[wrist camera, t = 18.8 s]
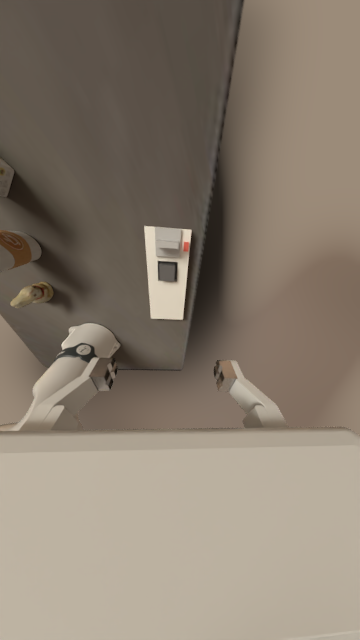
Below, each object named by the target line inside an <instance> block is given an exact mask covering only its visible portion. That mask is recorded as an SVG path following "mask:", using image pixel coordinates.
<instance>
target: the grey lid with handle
mask: <svg viewBox="0 0 360 640" xmlns="http://www.w3.org/2000/svg"><path fill="white" fill-rule="evenodd" d="M180 240H181V229H174V228H161V227H155V247H156V256H165V257H180Z"/></svg>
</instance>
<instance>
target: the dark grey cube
mask: <svg viewBox="0 0 360 640" xmlns="http://www.w3.org/2000/svg"><path fill="white" fill-rule="evenodd" d="M174 275H175V263H173V262H160V265H159V276H160V281H174Z"/></svg>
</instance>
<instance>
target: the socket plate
mask: <svg viewBox="0 0 360 640" xmlns="http://www.w3.org/2000/svg"><path fill="white" fill-rule="evenodd" d="M161 228H163V227H161ZM144 229H145V242H146V256H147V270H148V284H149V298H150V312H151V319H178V320H183V313H184V302H185V292H186V282H187V272H188V262H189V251H190V241H191V231H192V230H188V229H181V240H180V257H165V256H156V247H155V227H151V226H144ZM174 229H176V228H174ZM160 262H173V263H175V275H174V281H160V276H159V265H160ZM177 262H178V266H177ZM176 278H177V279H176Z"/></svg>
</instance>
